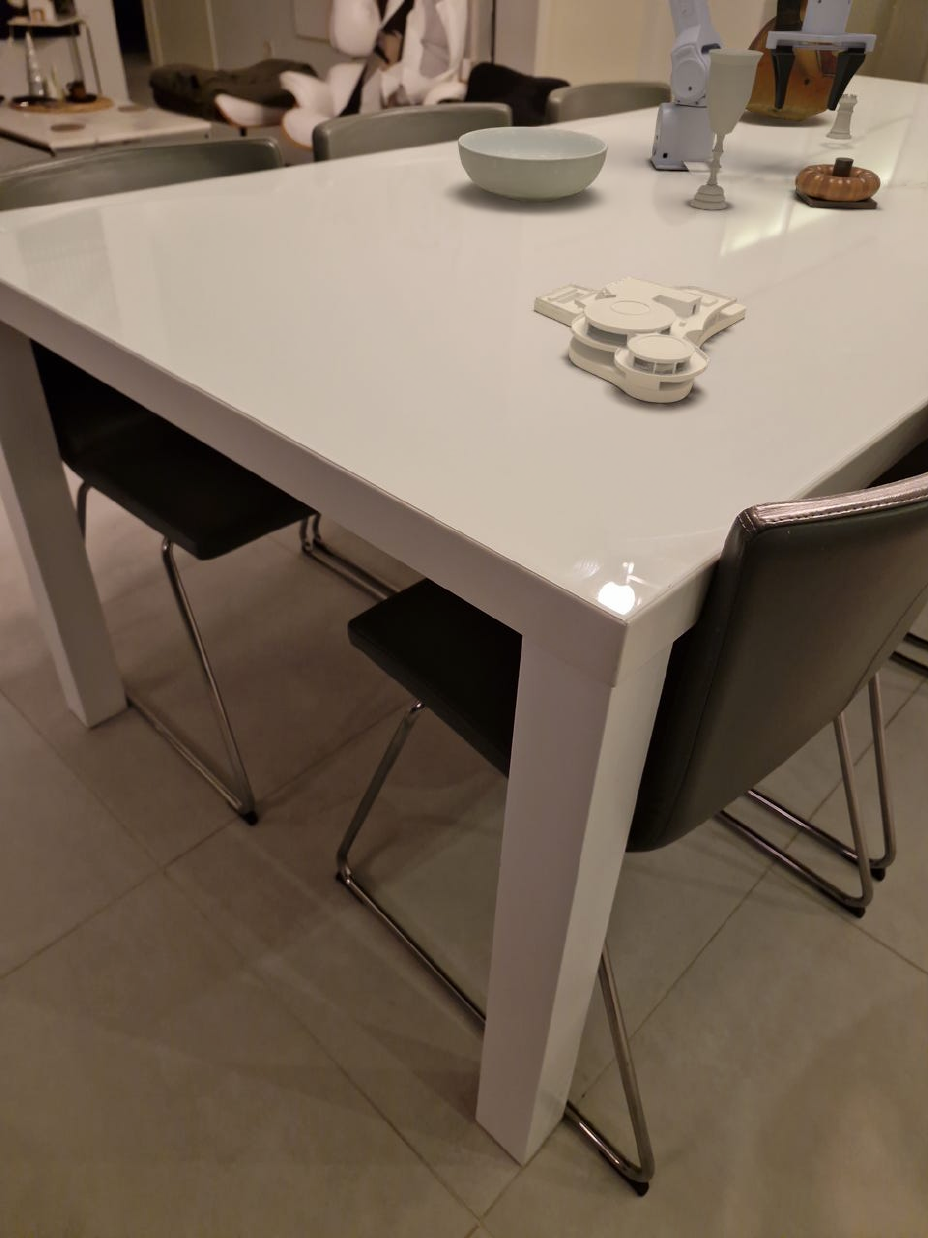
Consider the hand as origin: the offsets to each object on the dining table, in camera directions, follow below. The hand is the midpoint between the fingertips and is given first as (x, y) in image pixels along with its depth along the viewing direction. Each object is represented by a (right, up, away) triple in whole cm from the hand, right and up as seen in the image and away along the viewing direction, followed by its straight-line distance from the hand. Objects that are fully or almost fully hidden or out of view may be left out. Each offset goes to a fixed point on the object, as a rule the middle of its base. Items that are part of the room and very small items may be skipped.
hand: (804, 108), depth 126 cm
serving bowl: (-40, -14, -2) cm, 43 cm away
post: (+4, -14, -2) cm, 15 cm away
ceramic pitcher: (+14, +27, +50) cm, 59 cm away
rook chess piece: (+17, +10, +29) cm, 35 cm away
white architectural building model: (-34, -48, -44) cm, 74 cm away
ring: (+3, -12, -3) cm, 13 cm away
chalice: (-16, -17, -5) cm, 24 cm away
